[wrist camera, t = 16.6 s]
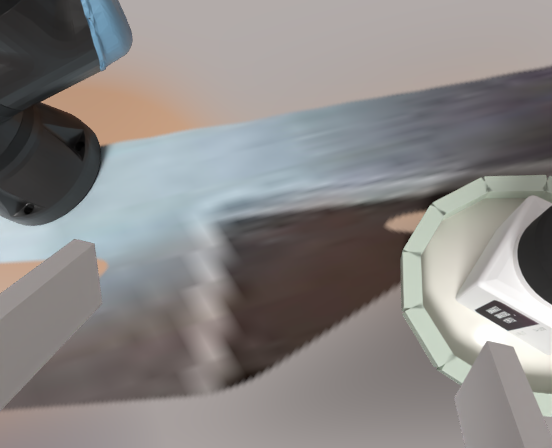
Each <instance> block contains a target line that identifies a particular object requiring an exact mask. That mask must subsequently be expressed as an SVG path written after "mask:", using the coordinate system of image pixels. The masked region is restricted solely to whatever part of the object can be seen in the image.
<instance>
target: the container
mask: <svg viewBox="0 0 552 448" xmlns="http://www.w3.org/2000/svg"><path fill="white" fill-rule="evenodd" d="M456 301H457V302H458V303H460V304H462V305H464V306H465V307H467V308H469V309H470V310H472V311H474V312H475V313H477V314H479V315H480V316H482V317H484V318H485V319H487V320H489V321H490V322H492V323H494V324H495V325H497V326H499V327H500V328H502V329H504V330H505V331H507V332H509V333H511V334H512V335H514V336H516V337H517V338H519V339H521V340H522V341H524V342H526V343H527V344H529V345H531V346H532V347H534V348H536V349H537V350H539V351H541V352H542V353H544V354H547V355H552V203H550V202H548V201H546V200H544V199H542V198H539V197H537V196H534V195H532V196H529V197H527V198H526V199H525V200H524V201H523V203H522V204H521V205H520V206H519V207H518V208H517V209H516V210H515V211H514V212H513V213H512V214H511V215H510V216H509V217H508V218H507V219H506V220H505V221H504V222H503V223H502V224H501V225H500V227H499V228H498V229H497V230H496V231H495V233H494V235H493V236H492V238H491V239H490V241H489V243H488V244H487V246H486V248H485V249H484V251H483V253H482V254H481V256H480V257H479V259H478V261H477V262H476V264H475V266H474V267H473V269H472V270H471V272H470V274H469V275H468V277H467V279H466V280H465V282H464V284H463V285H462V287H461V288H460V290H459V292H458V293H457V295H456Z"/></svg>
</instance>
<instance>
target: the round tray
mask: <svg viewBox="0 0 552 448" xmlns="http://www.w3.org/2000/svg"><path fill="white" fill-rule="evenodd" d="M532 195H534V196H537V197H539V198H542V199H544V200H546V201H548V202H550V203H552V176H549V177H548V178H547V177H546V175H520V176H484V178H483V179H482V178H479V179H477V180H475V181H473V182H471V183H469V184H467V185H465V186H463V187H462V188H460V189H458V190H456V191H454V192H452V193H450V194H448V195H446V196H444V197H442V198H441V199H439V200H437V201H435V202H433V203H432V205H430V206H429V208H428V209H427V211H426V213H425V214H424V216H423V218H422V219H421V221H420V223H419V224H418V226H417V227H416V229H415V231H414V232H413V234H412V236H411V237H410V239H409V241H408V242H407V244H406V245H405V247H404V249H403V252H402V255H401V259H400V263H401V302H402V303H401V306H402V311H403V312H404V313H403V316H404V318H405V319H406V321H407V323H408V324H409V326H410V328H411V329H412V331H413V333H414V334H415V336H416V338H417V339H418V341H419V343H420V344H421V346H422V348H423V350H424V351H425V353H426V354H427V356H428V358H429V360H430V361H431V363H432V365H433V366H434V367H438V368H437V370H438V371H440V372H441V373H443V374H444V375H446V376H447V377H449V378H450V379H452V380H454V381H455V382H457V383H458V384H460V385H462V383H463V382H464V380H465V378H466V376H467V374H468V373H469V371H470V369H471V367H472V365H473V364H474V362H475V360H476V358H477V357H478V355H479V353H480V351H481V349H482V348H483V346H484V344H485V342H486V341H487V340H488V341H493V342H497V343H501V344H505V345H509V346H513V347H514V349H515V352H516V354H517V356H518V359H519V361H520V363H521V366H522V368H523V370H524V373H525V375H526V377H527V380H528V382H529V385H530V387H531V389H532V392H533V394H534V396H535V399H536V401H537V403H538V406H539V408H540V410H541V413H542V415H543V416H550V417H552V355H547V354H544V353H542V352H541V351H539V350H537V349H536V348H534V347H532V346H531V345H529V344H527V343H526V342H524V341H522V340H521V339H519V338H517V337H516V336H514V335H512V334H511V333H509V332H507V331H505V330H504V329H502V328H500V327H499V326H497V325H495V324H494V323H492V322H490V321H489V320H487V319H485V318H484V317H482V316H480V315H479V314H477V313H475V312H474V311H472V310H470V309H469V308H467V307H465V306H464V305H462V304H460V303H458V302H457V301H456V295H457V293H458V292H459V290H460V288H461V287H462V285H463V284H464V282H465V280H466V279H467V277H468V275H469V274H470V272H471V270H472V269H473V267H474V266H475V264H476V262H477V261H478V259H479V257H480V256H481V254H482V253H483V251H484V249H485V248H486V246H487V244H488V243H489V241H490V239H491V238H492V236H493V235H494V233H495V231H496V230H497V229H498V228H499V227H500V225H501V224H502V223H503V222H504V221H505V220H506V219H507V218H508V217H509V216H510V215H511V214H512V213H513V212H514V211H515V210H516V209H517V208H518V207H519V206H520V205H521V204H522V203H523V201H524V200H525V199H526V198H527V197H529V196H532Z"/></svg>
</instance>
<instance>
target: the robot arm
mask: <svg viewBox="0 0 552 448" xmlns="http://www.w3.org/2000/svg"><path fill="white" fill-rule="evenodd" d="M131 45H132V33H131V29H130V27H129V24H128V22H127V19H126V17H125V15H124V12H123V10H122V8H121V6H120V3H119V1H118V0H0V216H2V217H4V218H6V219H9V220H11V221H14V222H16V223H19V224H22V225H28V226H35V225H42V224H46V223H49V222H52V221H54V220H56V219H58V218H60V217H62V216H63V215H65V214H66V213H68V212H69V211H70V210H72V209H73V208H74V207H75V206H76V205H77V204H78V203H79V202H80V201H81V200H82V199H83V198H84V196H85V195H86V194H87V192H88V191H89V189H90V188H91V186H92V184H93V182H94V180H95V178H96V175H97V173H98V169H99V165H100V157H101V152H100V145H99V142H98V139H97V137H96V135H95V133H94V132H93V131H92V130H91V129H90V128H89V127H88V126H87V125H86V124H84V123H83V122H82V121H81V120H79V119H78V118H76V117H75V116H73V115H72V114H69V113H67V112H64V111H62V110H59V109H57V108H54V107H51V106H49V105H46V104H43V103H41V101H43V100H45V99H47V98H49V97H51V96H53V95H55V94H57V93H59V92H61V91H63V90H65V89H67V88H68V87H71V86H72V85H74V84H76V83H78V82H80V81H82V80H84V79H86V78H88V77H90V76H92V75H94V74H96V73H98V72H100V71H103V70H105V69H106V67H107V66H108V65H110V64H111V63H113V62H115V61H116V60H118V59H119V58H121V57H122V56H124V55H125V54H127V52H128V51H129V49H130V47H131ZM101 305H102V297H101V289H100V282H99V274H98V267H97V259H96V252H95V244H94V243H90V242H86V241H82V240H77V239H74V240H72V241H71V242H70V243H68V244H67V245H66V246H64V247H63V248H62V249H60V250H59V251H57V252H56V253H55V254H53V255H52V256H51V257H49V258H48V259H47V260H45V261H44V262H43V263H41V264H40V265H39V266H37V267H36V268H34V269H33V270H32V271H30V272H29V273H28V274H26V275H25V276H24V277H22V278H21V279H19V280H18V281H17V282H16V283H14V284H13V285H12V286H10V287H9V288H7V289H6V290H5V291H3V292H2V293H0V411H1V410H2V409H3V408H4V407H5V405H6V404H7V403H8V402H9V401H10V400H11V399H12V398H13V397H14V396H15V395H16V394H17V393H18V392H19V391H20V390H21V389H22V388H23V387H24V386H25V384H26V383H27V382H28V381H29V380H30V379H31V378H32V377H33V376H34V375H35V374H36V373H37V372H38V371H39V370H40V369H41V368H42V367H43V366H44V365H45V363H46V362H47V361H48V360H49V359H50V358H51V357H52V356H53V355H54V354H55V353H56V352H57V351H58V350H59V349H60V348H61V347H62V346H63V345H64V343H65V342H66V341H67V340H68V339H69V338H70V337H71V336H72V335H73V334H74V333H75V332H76V331H77V330H78V329H79V328H80V327H81V326H82V325H83V324H84V322H85V321H86V320H87V319H88V318H89V317H90V316H91V315H92V314H93V313H94V312H95V311H96V310H97V309H98V308H99V307H100V306H101ZM455 403H456V408H457V413H458V417H459V422H460V427H461V431H462V436H463V441H464V445H465V448H552V436H551V434H550V431H549V429H548V427H547V424H546V422H545V420H544V417H543V415H542V413H541V410H540V408H539V406H538V403H537V401H536V399H535V396H534V394H533V392H532V389H531V387H530V385H529V382H528V380H527V377H526V375H525V373H524V370H523V368H522V366H521V363H520V361H519V359H518V356H517V354H516V352H515V349H514V347H513V346H509V345H505V344H501V343H497V342H493V341H488V340H487V341H486V342H485V344H484V346H483V348H482V349H481V351H480V353H479V355H478V357H477V358H476V360H475V362H474V364H473V365H472V367H471V369H470V371H469V373H468V374H467V376H466V378H465V380H464V382H463V383H462V385H461V387H460V389H459V390H458V392H457V394H456V396H455Z"/></svg>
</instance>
